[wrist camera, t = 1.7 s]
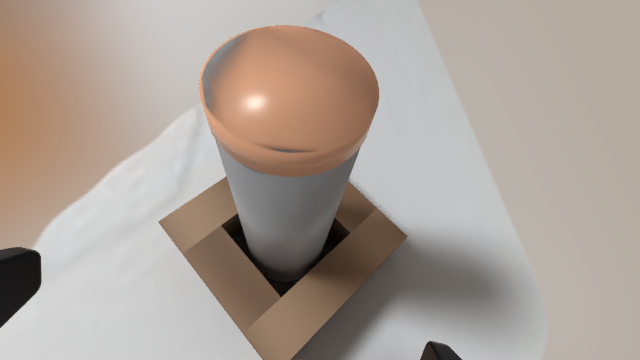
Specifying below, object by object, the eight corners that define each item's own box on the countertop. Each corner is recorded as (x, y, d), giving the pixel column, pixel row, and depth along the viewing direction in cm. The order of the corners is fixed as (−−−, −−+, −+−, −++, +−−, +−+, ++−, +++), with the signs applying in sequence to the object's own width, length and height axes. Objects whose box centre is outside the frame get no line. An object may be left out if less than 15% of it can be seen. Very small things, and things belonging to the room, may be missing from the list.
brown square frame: (276, 372, 17) (274, 375, 14) (174, 239, 20) (158, 221, 17) (391, 251, 21) (407, 236, 18) (293, 155, 24) (294, 131, 21)
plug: (281, 299, 19) (281, 192, 7) (234, 242, 20) (161, 68, 8) (336, 248, 21) (414, 92, 8) (289, 199, 22) (298, 6, 10)
